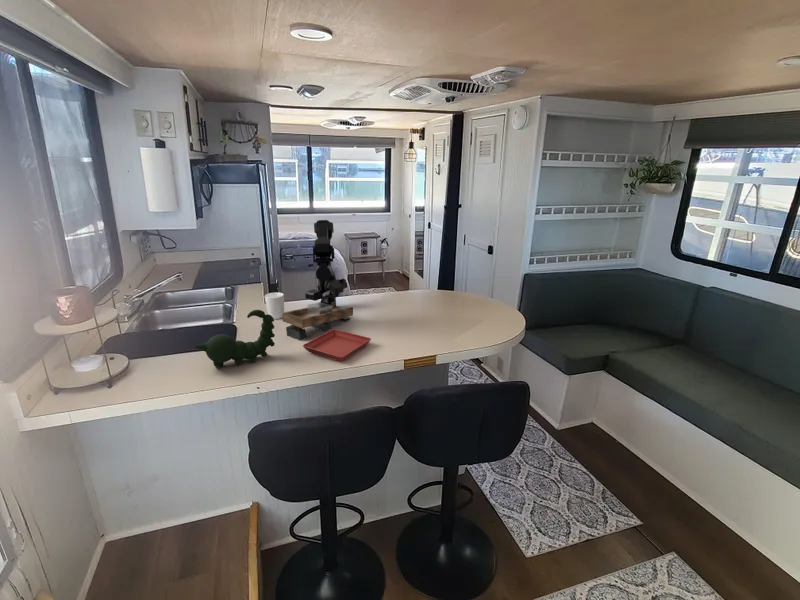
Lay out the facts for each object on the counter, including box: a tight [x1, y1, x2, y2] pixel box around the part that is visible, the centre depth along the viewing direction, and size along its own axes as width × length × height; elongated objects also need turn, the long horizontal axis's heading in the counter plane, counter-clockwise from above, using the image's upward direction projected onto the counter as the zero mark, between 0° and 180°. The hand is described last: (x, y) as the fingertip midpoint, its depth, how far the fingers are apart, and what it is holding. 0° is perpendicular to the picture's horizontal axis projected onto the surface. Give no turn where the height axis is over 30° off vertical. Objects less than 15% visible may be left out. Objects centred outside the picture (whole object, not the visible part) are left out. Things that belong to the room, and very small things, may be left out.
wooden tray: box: [282, 302, 354, 329], centre depth 171 cm, size 27×13×4 cm, turn 142°
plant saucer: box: [302, 328, 372, 362], centre depth 153 cm, size 18×18×3 cm
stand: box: [285, 316, 351, 341], centre depth 172 cm, size 27×10×4 cm, turn 142°
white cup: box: [264, 292, 285, 320], centre depth 184 cm, size 8×8×10 cm
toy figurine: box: [194, 309, 276, 369], centre depth 141 cm, size 9×19×25 cm
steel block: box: [306, 301, 332, 316], centre depth 171 cm, size 7×7×4 cm
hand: (329, 308), depth 175 cm, fingers closed
